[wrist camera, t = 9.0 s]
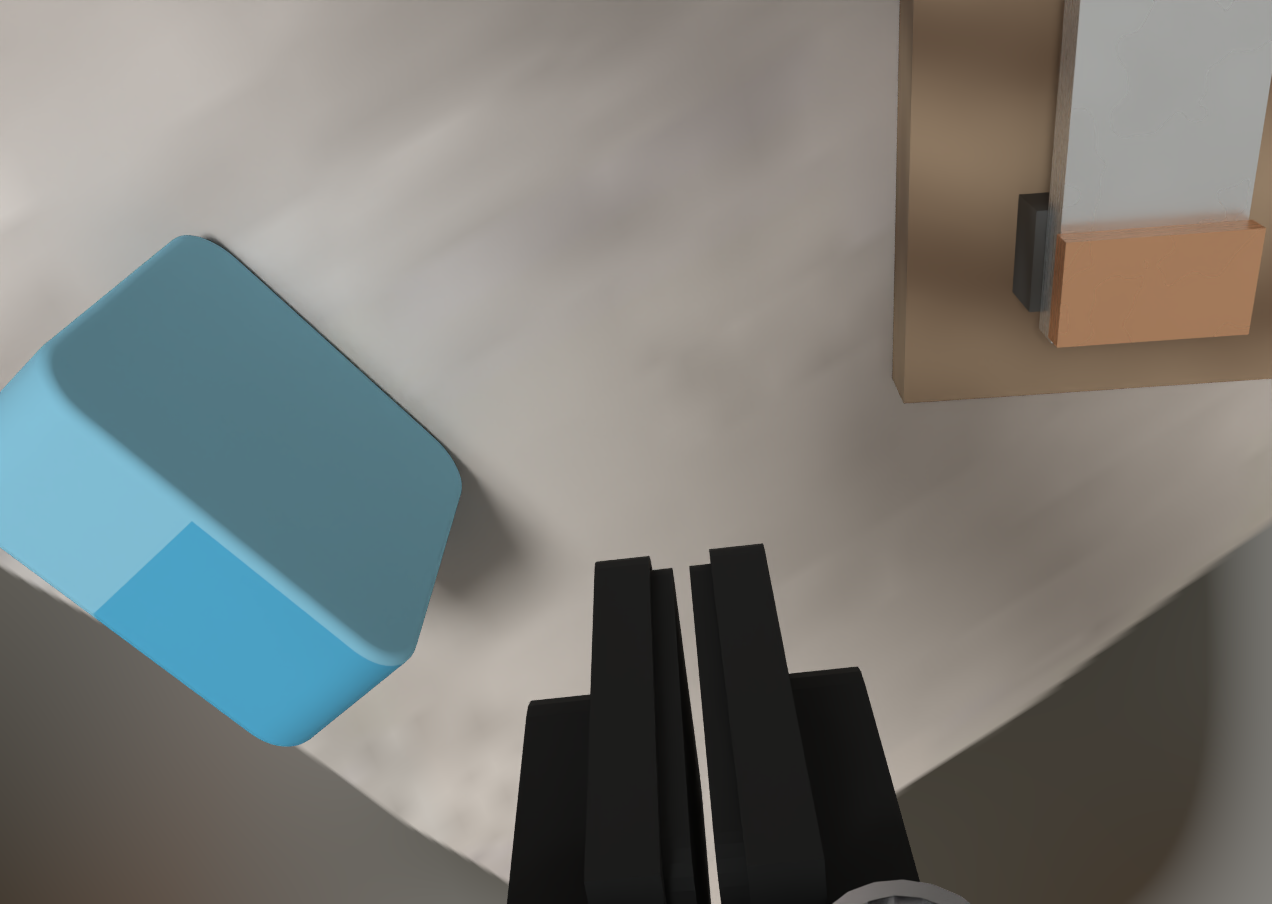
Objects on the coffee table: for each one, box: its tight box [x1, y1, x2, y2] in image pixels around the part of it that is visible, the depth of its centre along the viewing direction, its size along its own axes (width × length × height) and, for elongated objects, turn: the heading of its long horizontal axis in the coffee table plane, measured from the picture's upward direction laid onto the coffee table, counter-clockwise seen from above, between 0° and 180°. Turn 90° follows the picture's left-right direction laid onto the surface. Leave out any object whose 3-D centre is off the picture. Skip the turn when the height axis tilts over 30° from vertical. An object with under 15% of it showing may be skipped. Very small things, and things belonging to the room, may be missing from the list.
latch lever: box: [1039, 0, 1272, 348], centre depth 30 cm, size 17×5×2 cm, turn 5°
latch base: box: [892, 0, 1272, 403], centre depth 32 cm, size 22×12×6 cm, turn 5°
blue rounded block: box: [0, 235, 462, 746], centre depth 35 cm, size 12×4×12 cm, turn 43°
